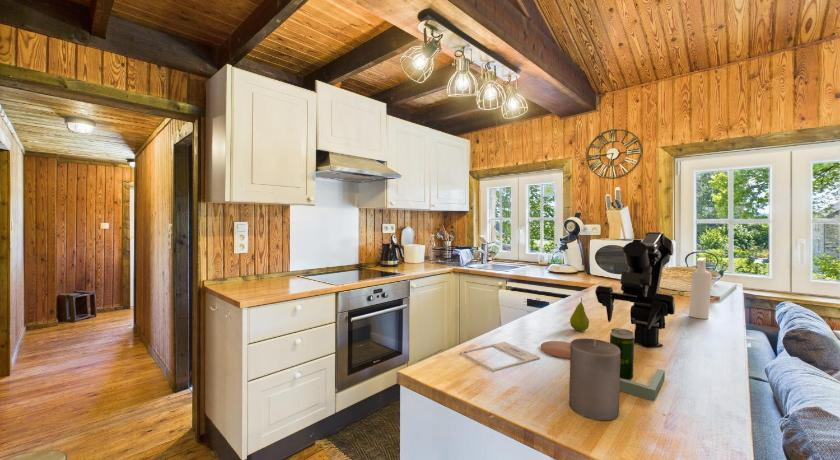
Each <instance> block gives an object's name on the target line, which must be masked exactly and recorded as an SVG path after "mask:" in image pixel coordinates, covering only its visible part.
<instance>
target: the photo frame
mask: <svg viewBox="0 0 840 460" xmlns="http://www.w3.org/2000/svg"><path fill="white" fill-rule="evenodd" d="M489 348H496V349H498V350H500V351H501V352H504V353H507V354H508V355H510V356H513V357H515V358H517V359H519V360H520V361H517V362H514V363H509V364H507V365H506V364H505V365H503V366H499V367H495V368H492V367H491V366H490V365H488V364H486V363H483V362H482V361H480V360H479V359H477V358H474V357H473V356H472V355H469V354H468V353H472V352H473V353H474V352H476V351H481V350H484V349H489ZM459 354H460V355H462V356H464V357H466V358H467V359H469V360H471V361H473V362H475V363H477V364H478V365H480V366H481V367H484V368H485V369H487V370H489V371H490V372H493V373H495V372H498V371H502V370H506V369H509V368H514V367H515V366H520V365H523V364H524V365H525V364H527V363H528V364H529V363H532V362H535V361H537V360H540V359H541V357H540V356H539V355H537V354H533V353H532V352H530V351H527V350H524V349H522V348H520V347H518V346H515V345H513V344H511V343H509V342H506V341H502V342H498V343H497V342H496V343H493V344H488V345H484V346H480V347H476V348H475V347H474V348H471V349H465V350H462V351H460V352H459Z"/></svg>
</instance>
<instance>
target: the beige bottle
mask: <svg viewBox="0 0 840 460" xmlns="http://www.w3.org/2000/svg"><path fill="white" fill-rule="evenodd" d="M696 263H697V268H696V269H695V270H693V271H692V272H691V281H690V292H689V307H688V316H689V317H692V318H697V319H700V320H701V319H702V320H704V319H705V320H707V319H709V317H710V315H709V314H710V302H711V291H712V290H711V289H712V279H713V278H712V277H713V276H712V273H711V272H709V271H708V270H707V266H706V263H707V258H706V257H699V258H697V259H696Z"/></svg>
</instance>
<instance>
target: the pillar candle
mask: <svg viewBox="0 0 840 460" xmlns="http://www.w3.org/2000/svg"><path fill="white" fill-rule="evenodd" d="M570 343H571V349H570V359H569V363H570V364H569V386H568V387H569V395H568V397H569V398H568V401H569V402H568V404H569V405H568V406H569V407H570V408H571V410H572V411H574V412H575V413H576V414H577V415H580V416H582V417H583V418H586V419H589V420H593V421H613V420H616V419H617V418H618V417H619V415H620V395H621V394H620V393H621V391H620V349H619V348H618V347H617V346H616V345H614V344H611V343H610V341H609V342H608V341H605V340H600V339H596V338H576V339H573V340H571V341H570Z"/></svg>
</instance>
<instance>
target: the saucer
mask: <svg viewBox="0 0 840 460" xmlns="http://www.w3.org/2000/svg"><path fill="white" fill-rule="evenodd" d="M570 349H571V342H567V341H561V340H560V341H559V340H551V341H545V342H542V343H541V344H540V350H541V352H543V353H544V354H545V355H549V356H550V357H554V358H558V359H561V360H570Z"/></svg>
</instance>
